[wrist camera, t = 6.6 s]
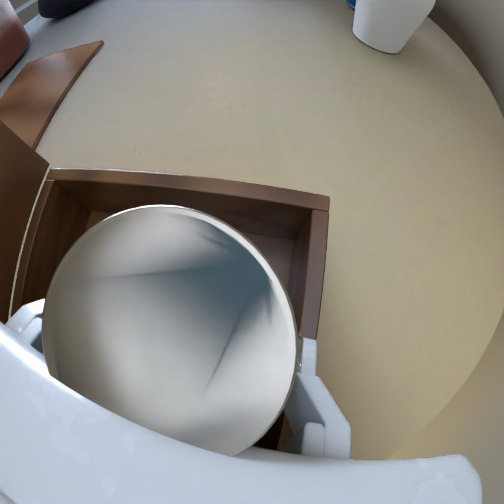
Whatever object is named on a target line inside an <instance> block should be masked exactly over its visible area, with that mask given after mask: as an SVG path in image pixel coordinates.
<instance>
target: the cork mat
mask: <svg viewBox="0 0 504 504" xmlns="http://www.w3.org/2000/svg"><path fill="white" fill-rule="evenodd" d="M103 44H104V42H103V40H102V41H98V42H93V43H89V44H85V45H81V46H77V47H74V48H70V49H67V50H63V51H60V52H57V53H54V54H51V55H48V56H45V57H42V58H39V59H37V60H34V61H31V62H29V63H27V64H26V65H25V66H24V68H23V69H22V70H21V71H20V73H19V74H18V75H17V77H16V78H15V79H14V81H13V82H12V83H11V85H10V86H9V88H8V89H7V91H6V92H5V93H4V95H3V96H2V98H1V99H0V120H1V121H2V122H3V123H4V124H5V125H7V126H8V127H9V128H10V129H11V130H12V131H13V132H14V133H15V134H16V135H17V136H18V137H20V138H21V139H22V140H23V141H24V142H25V143H26V144H27V145H29V146H30V147H31V148H32V149H33V150H35V148H36V146H37V144H38V142H39V140H40V138H41V136H42V134H43V132H44V130H45V129H46V127H47V125H48V123H49V121H50V120H51V118H52V116H53V114H54V113H55V111H56V109H57V108H58V106H59V104H60V103H61V101H62V100H63V98H64V97H65V95H66V93H67V92H68V90H69V89H70V87H71V86H72V84H73V83H74V82H75V80H76V79H77V77H78V76H79V75H80V73H81V72H82V70H83V69H84V68H85V66H86V65H87V64H88V62H89V61H90V60H91V59H92V57H93V56H94V55H95V54H96V52H97V51H98V50H99V49H100V47H101V46H102V45H103Z"/></svg>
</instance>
